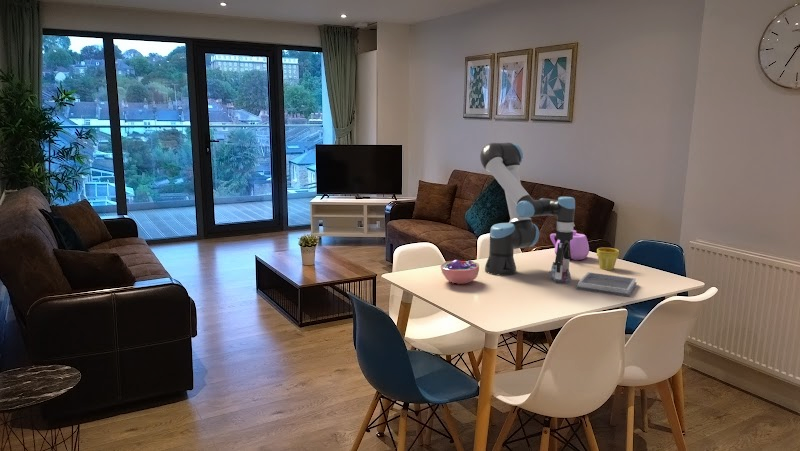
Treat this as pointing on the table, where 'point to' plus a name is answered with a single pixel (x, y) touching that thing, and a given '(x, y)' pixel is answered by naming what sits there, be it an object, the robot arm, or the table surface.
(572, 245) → the teapot
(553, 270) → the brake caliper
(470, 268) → the cell model
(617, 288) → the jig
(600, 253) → the plant pot
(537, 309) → the table surface
